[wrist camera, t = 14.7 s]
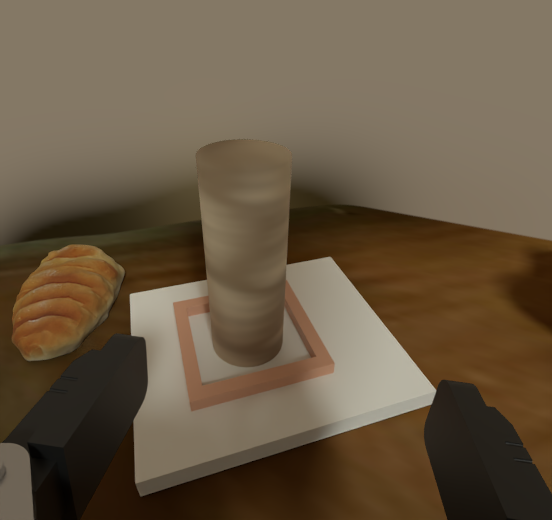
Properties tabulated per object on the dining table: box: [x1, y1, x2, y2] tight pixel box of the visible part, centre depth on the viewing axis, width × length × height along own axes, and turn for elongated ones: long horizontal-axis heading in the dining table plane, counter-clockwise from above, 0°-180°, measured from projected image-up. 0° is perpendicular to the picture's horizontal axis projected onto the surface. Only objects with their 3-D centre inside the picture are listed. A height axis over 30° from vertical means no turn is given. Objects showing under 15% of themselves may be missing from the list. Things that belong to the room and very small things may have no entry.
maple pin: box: [196, 139, 292, 367], centre depth 21 cm, size 4×4×12 cm
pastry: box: [12, 245, 125, 361], centre depth 27 cm, size 9×7×4 cm
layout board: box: [130, 257, 436, 497], centre depth 25 cm, size 16×14×2 cm
